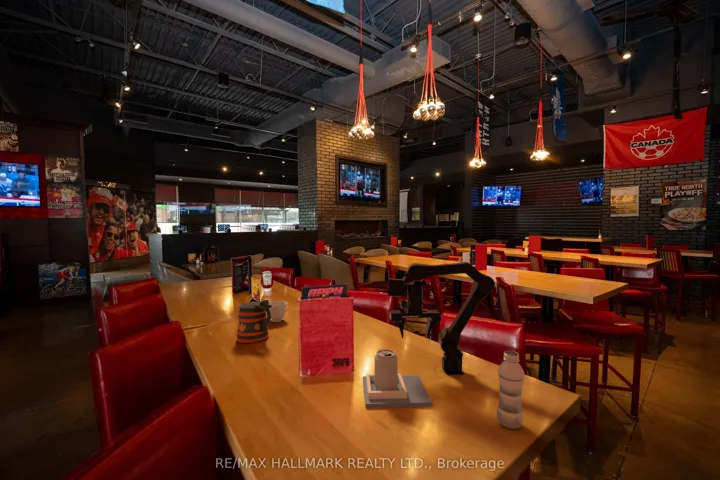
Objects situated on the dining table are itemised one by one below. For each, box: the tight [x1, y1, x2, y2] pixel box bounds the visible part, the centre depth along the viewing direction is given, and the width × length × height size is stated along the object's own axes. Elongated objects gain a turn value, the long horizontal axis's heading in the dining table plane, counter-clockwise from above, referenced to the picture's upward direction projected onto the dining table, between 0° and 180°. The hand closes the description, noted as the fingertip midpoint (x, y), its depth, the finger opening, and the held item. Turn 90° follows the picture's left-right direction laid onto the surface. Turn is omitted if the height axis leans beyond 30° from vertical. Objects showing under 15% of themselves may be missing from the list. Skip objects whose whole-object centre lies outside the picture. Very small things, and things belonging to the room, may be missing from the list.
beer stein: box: [236, 299, 272, 344], centre depth 150 cm, size 19×15×20 cm
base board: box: [362, 373, 433, 409], centre depth 103 cm, size 20×17×3 cm
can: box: [374, 348, 399, 391], centre depth 102 cm, size 8×8×12 cm
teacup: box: [269, 300, 288, 323], centre depth 177 cm, size 12×15×10 cm
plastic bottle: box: [495, 350, 526, 430], centre depth 86 cm, size 6×7×20 cm
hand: (414, 337), depth 119 cm, fingers open, 9 cm apart
